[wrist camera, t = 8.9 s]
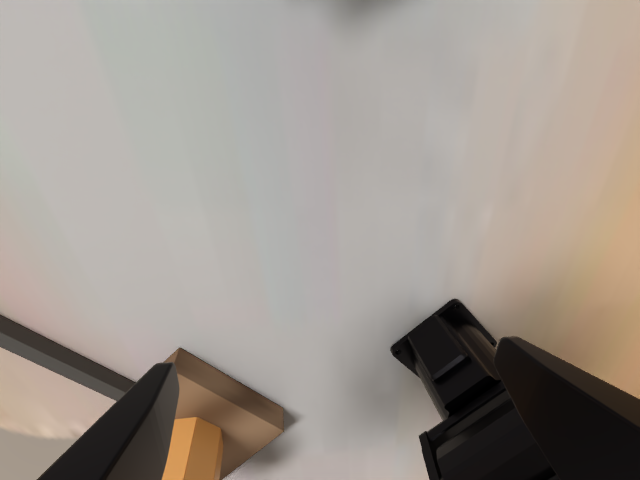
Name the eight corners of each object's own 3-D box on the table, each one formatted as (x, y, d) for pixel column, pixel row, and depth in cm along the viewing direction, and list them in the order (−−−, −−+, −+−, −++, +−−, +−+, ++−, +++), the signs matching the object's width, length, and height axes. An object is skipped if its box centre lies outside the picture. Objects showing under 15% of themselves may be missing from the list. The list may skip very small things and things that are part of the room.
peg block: (282, 407, 26) (286, 489, 21) (202, 472, 28) (186, 562, 23) (179, 347, 22) (151, 428, 17) (93, 426, 24) (43, 522, 19)
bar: (139, 384, 23) (134, 396, 22) (130, 392, 23) (125, 404, 23) (-135, 247, 17) (-158, 256, 16) (-143, 260, 17) (-166, 269, 16)
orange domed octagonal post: (236, 436, 24) (229, 515, 20) (193, 471, 25) (176, 555, 21) (179, 408, 22) (157, 489, 18) (134, 447, 23) (102, 534, 19)
